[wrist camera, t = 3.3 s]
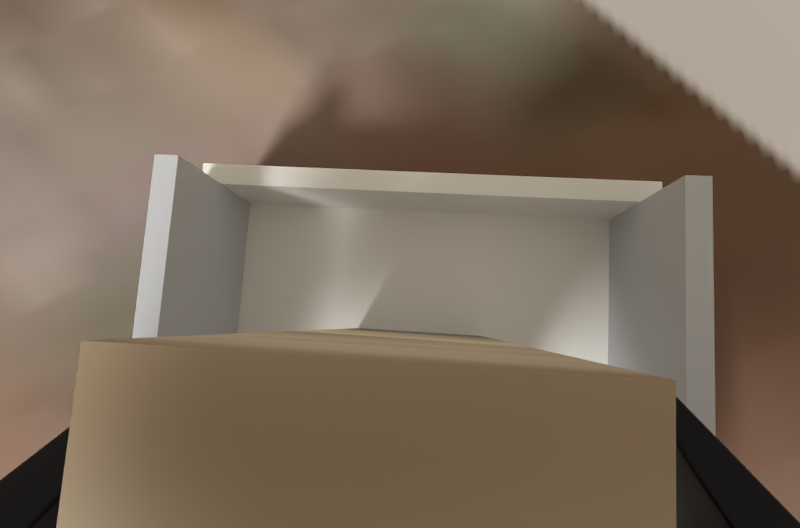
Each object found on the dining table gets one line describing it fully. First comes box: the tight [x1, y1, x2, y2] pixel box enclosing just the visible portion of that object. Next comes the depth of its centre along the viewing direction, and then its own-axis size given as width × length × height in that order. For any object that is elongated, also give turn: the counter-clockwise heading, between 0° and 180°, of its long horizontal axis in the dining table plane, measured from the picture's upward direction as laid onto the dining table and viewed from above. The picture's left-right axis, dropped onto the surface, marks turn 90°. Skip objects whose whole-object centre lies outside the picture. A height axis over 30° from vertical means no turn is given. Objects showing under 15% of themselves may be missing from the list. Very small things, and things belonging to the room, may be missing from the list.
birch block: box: [56, 328, 676, 528], centre depth 10 cm, size 4×4×13 cm
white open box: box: [132, 154, 716, 437], centre depth 14 cm, size 13×13×6 cm
